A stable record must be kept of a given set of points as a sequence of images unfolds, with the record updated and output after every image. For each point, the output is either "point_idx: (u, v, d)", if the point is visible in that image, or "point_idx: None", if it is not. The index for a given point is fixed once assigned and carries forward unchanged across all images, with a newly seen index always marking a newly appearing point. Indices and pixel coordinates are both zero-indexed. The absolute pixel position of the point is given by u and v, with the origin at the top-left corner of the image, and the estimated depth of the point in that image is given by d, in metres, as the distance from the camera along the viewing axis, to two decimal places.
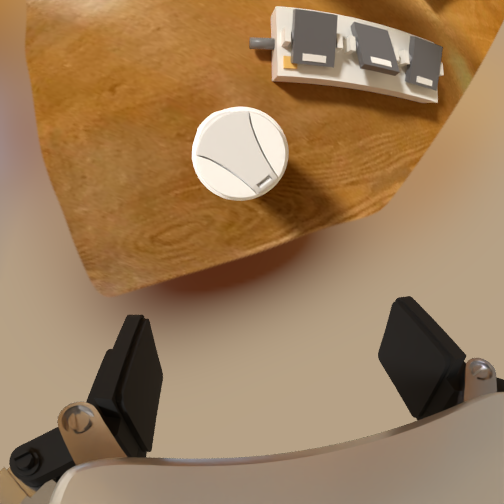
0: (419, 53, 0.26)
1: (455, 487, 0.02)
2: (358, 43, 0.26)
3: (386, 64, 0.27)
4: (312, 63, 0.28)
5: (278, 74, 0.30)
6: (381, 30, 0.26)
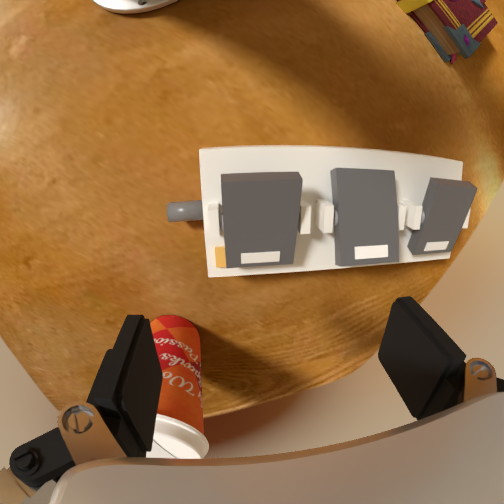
0: (439, 210, 0.20)
1: (455, 487, 0.02)
2: (338, 218, 0.20)
3: (379, 254, 0.20)
4: (257, 264, 0.22)
5: (209, 275, 0.23)
6: (383, 174, 0.20)
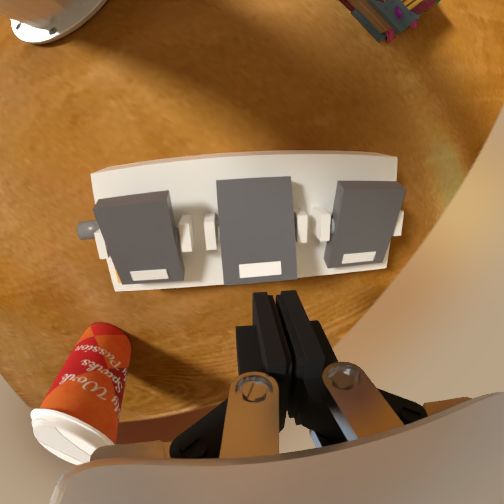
0: (352, 218, 0.19)
1: (455, 487, 0.02)
2: (220, 235, 0.20)
3: (270, 272, 0.20)
4: (149, 281, 0.21)
5: (115, 289, 0.23)
6: (276, 181, 0.19)
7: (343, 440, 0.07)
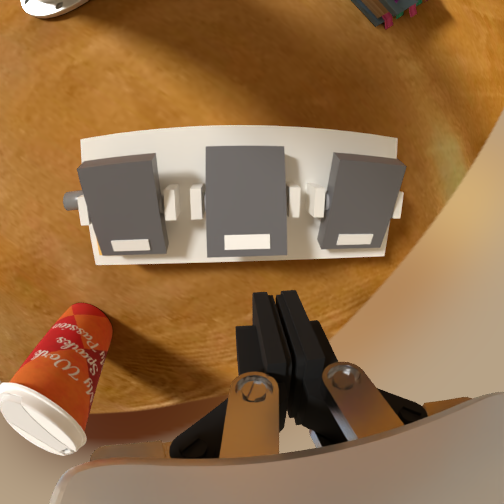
0: (348, 193, 0.18)
1: (455, 487, 0.02)
2: (206, 203, 0.18)
3: (258, 245, 0.18)
4: (130, 252, 0.20)
5: (96, 263, 0.21)
6: (268, 151, 0.18)
7: (343, 440, 0.07)
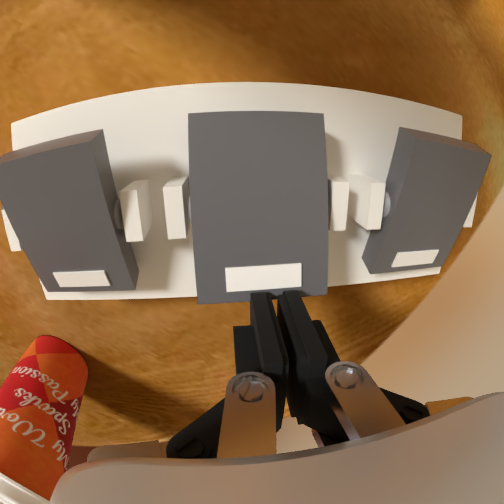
0: (419, 192, 0.10)
1: (455, 487, 0.02)
2: None
3: (282, 282, 0.11)
4: (83, 288, 0.12)
5: (47, 297, 0.14)
6: (297, 120, 0.10)
7: (345, 439, 0.07)
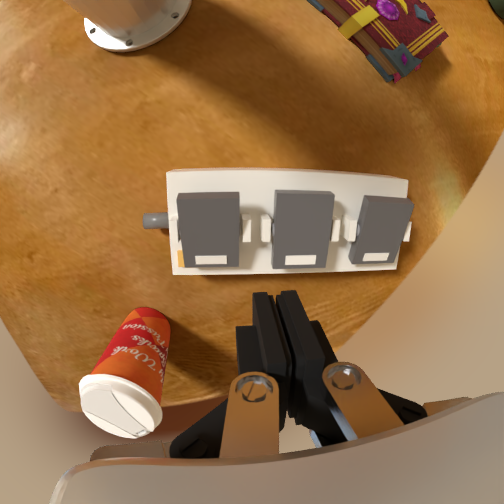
0: (373, 224, 0.25)
1: (455, 487, 0.02)
2: (274, 233, 0.25)
3: (307, 262, 0.26)
4: (209, 265, 0.27)
5: (173, 273, 0.28)
6: (323, 198, 0.24)
7: (343, 440, 0.07)
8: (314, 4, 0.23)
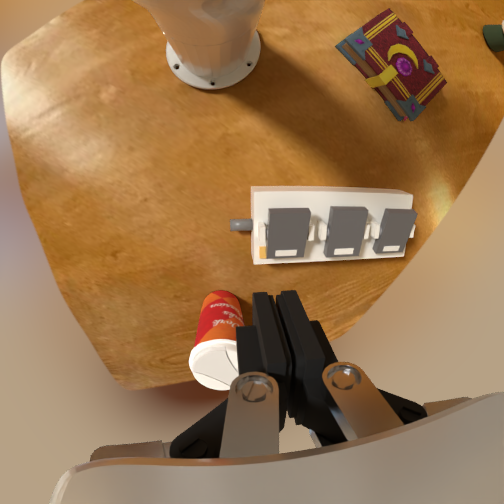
0: (390, 227, 0.37)
1: (455, 487, 0.02)
2: (328, 234, 0.37)
3: (348, 252, 0.39)
4: (284, 257, 0.39)
5: (254, 263, 0.40)
6: (361, 212, 0.36)
7: (343, 440, 0.07)
8: (349, 59, 0.34)
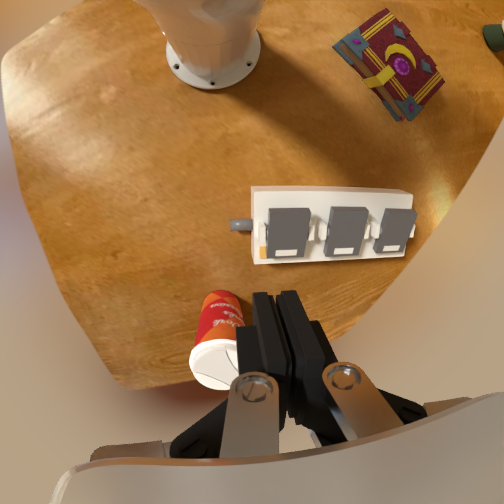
0: (390, 227, 0.37)
1: (455, 487, 0.02)
2: (329, 234, 0.37)
3: (347, 252, 0.39)
4: (284, 256, 0.39)
5: (254, 263, 0.40)
6: (361, 213, 0.36)
7: (343, 440, 0.07)
8: (346, 59, 0.34)
